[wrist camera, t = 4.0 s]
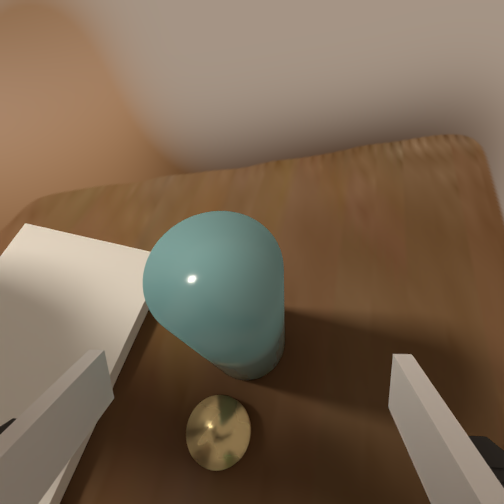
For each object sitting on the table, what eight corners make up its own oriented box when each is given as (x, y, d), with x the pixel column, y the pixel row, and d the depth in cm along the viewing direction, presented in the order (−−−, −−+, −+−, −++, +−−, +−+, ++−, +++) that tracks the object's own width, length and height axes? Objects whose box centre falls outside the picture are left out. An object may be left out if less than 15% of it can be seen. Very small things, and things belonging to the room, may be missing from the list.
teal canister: (198, 367, 23) (117, 318, 12) (223, 296, 26) (175, 201, 15) (274, 390, 22) (261, 360, 11) (292, 313, 25) (297, 223, 13)
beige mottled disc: (182, 458, 21) (176, 460, 20) (201, 390, 23) (197, 388, 22) (243, 476, 20) (241, 479, 19) (257, 404, 22) (256, 403, 21)
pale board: (-124, 446, 23) (-143, 447, 22) (33, 229, 32) (25, 223, 31) (47, 531, 19) (33, 537, 18) (170, 261, 28) (166, 255, 27)
